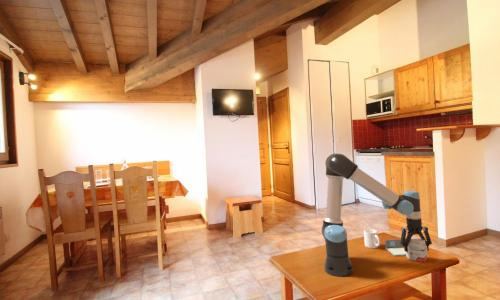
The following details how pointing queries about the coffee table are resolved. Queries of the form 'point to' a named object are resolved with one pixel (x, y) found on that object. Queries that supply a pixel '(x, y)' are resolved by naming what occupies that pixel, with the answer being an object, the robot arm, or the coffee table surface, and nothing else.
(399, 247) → the laptop
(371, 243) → the mug
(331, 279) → the coffee table surface
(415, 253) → the ink box
